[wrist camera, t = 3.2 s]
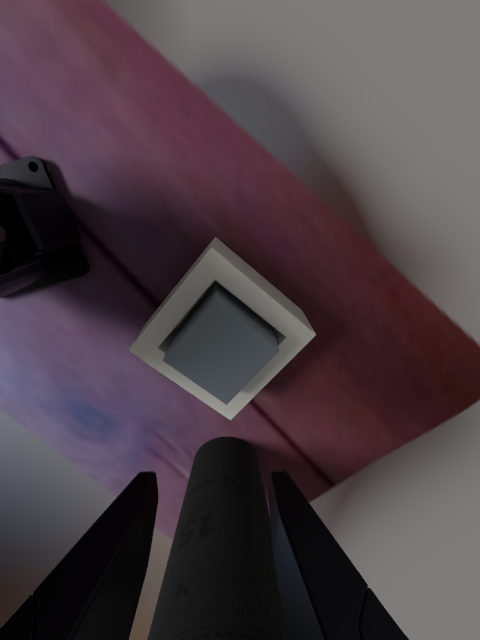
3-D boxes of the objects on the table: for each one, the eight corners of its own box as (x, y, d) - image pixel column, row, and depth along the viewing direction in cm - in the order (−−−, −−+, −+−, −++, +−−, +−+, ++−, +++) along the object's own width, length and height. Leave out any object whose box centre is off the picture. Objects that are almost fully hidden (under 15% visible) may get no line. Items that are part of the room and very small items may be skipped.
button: (227, 375, 20) (226, 405, 17) (172, 335, 19) (162, 360, 16) (272, 327, 19) (279, 350, 16) (217, 282, 18) (214, 300, 15)
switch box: (230, 383, 23) (230, 420, 19) (146, 322, 21) (127, 350, 17) (301, 309, 21) (316, 334, 17) (215, 236, 19) (211, 247, 16)
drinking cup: (296, 461, 26) (471, 1187, 7) (226, 513, 27) (215, 1199, 9) (226, 402, 24) (203, 1210, 5) (155, 462, 25) (-61, 1221, 7)
